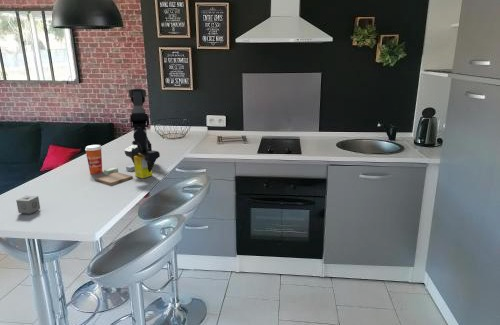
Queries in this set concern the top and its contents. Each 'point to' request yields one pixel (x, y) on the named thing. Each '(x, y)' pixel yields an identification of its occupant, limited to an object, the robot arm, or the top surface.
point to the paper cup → (94, 158)
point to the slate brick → (130, 168)
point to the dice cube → (28, 204)
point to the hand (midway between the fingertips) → (143, 170)
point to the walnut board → (113, 178)
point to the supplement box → (141, 167)
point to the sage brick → (110, 171)
